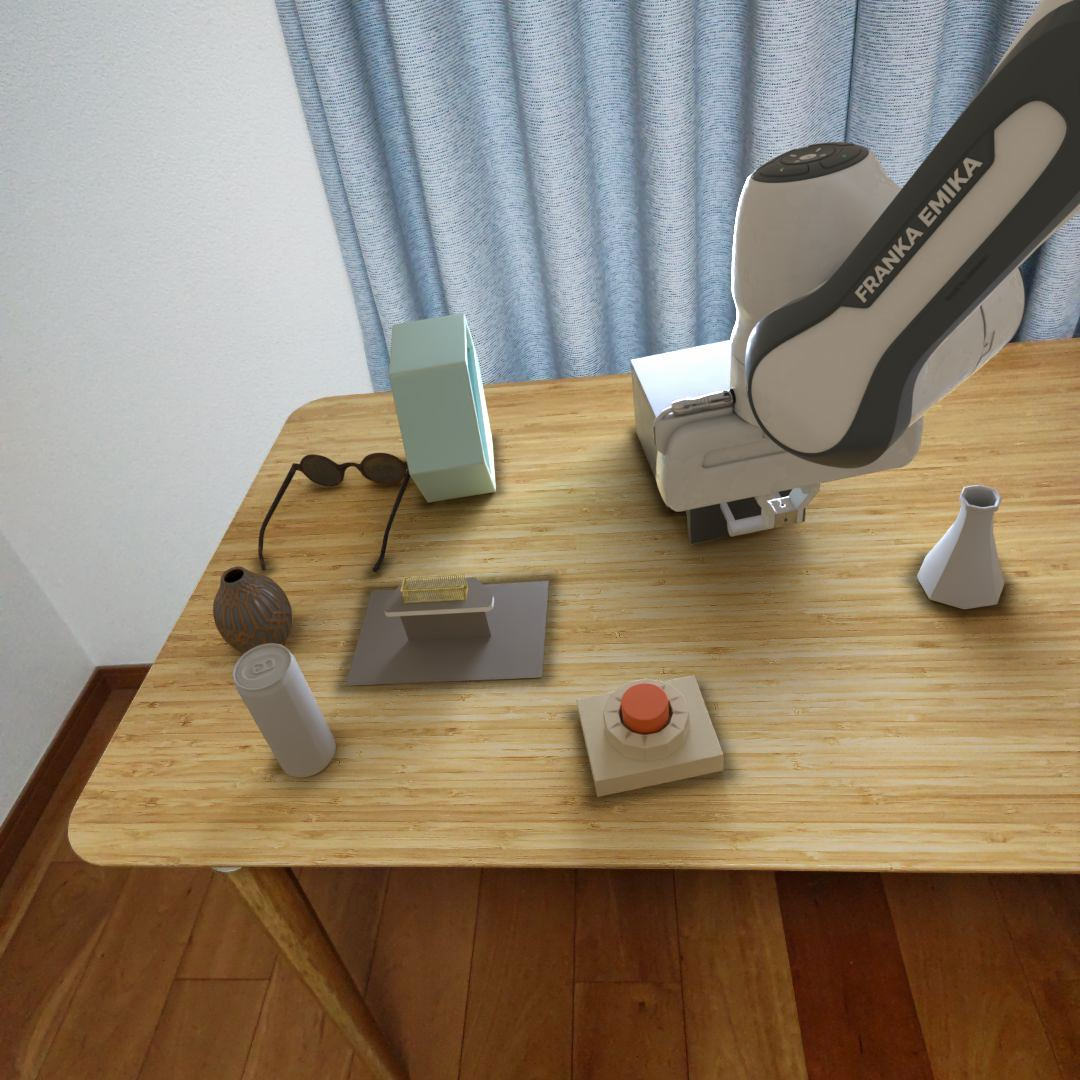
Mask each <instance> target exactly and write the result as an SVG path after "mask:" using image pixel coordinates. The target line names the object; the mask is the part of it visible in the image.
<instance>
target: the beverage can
mask: <svg viewBox="0 0 1080 1080" xmlns="http://www.w3.org/2000/svg"><path fill="white" fill-rule="evenodd" d="M232 680H233V684H234V687H235V690H236V692H237V693H238V695H239V697H240V699H241V700H242V702H243V704H244V705H245V708H246V709H247V710H248V712H249V714H250V716H251V718H252V719H253V721H254V723H255V724H256V726H257V728H258V730H259V732H260V734H261V735H262V736H263V738H264V740H265V741H266V744H267V745H268V747H269V749H270V751H271V752H272V754H273V755H274V757H275V759H276V761H277V762H278V765H279V766H280V768H281V769H282V770H283V772H285V774H287V775H289V776H291V777H295V778H308V777H312V776H315V775H317V774H320V773H321V772H322V771H323V770H325V769H326V768H327V767H328V766H329V765H330V763H331V762H332V760H333V758H334V756H335V754H336V749H337V742H336V739H335V737H334V735H333V733H332V731H331V729H330V727H329V725H328V723H327V721H326V719H325V717H324V715H323V713H322V711H321V708H320V706H319V704H318V702H317V700H316V698H315V695H314V694H313V692H312V690H311V688H310V686H309V684H308V681H307V680H306V678H305V676H304V674H303V671H302V670H301V668H300V666H299V663H298V661H297V660H296V658H295V655H293V654H292V652H291V651H290V650H289V649H288V648H287V647H286V646H284V645H282V644H281V645H280V644H275V643H269V644H263V645H259V646H256V647H254V648H252V649H250V650H249V651H247V652H246V653H242V655H241V656H240V657H239V658H238V659H237V660H236V662H235V664H234V666H233V669H232Z"/></svg>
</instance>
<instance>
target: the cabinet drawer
mask: <svg viewBox="0 0 1080 1080" xmlns="http://www.w3.org/2000/svg"><path fill="white" fill-rule="evenodd" d="M791 491H792V489H790V490H785V491H780V492H775V497H774V499H780V498H784V497H789V494H790V493H791ZM774 499H773V500H774ZM806 510H807V507H806V508H804V512H803V521H802V523H804V522H805V521H806ZM684 512H685V514H686V518H687V519H686V525H687V538H688V541H689V543H690V545H697V544H701V543H706V542H710V541H711V542H712V541H716V540H720V539H721V540H722V539H725V538H730V537H736V536H742V535H746V534H751V533H752V534H753V533H755V532H761V531H766V530H768V529H767V528H766V526H765V525H764V523H763V521H762V517H761V507H760V506H759V504H758V503H757V501H756V499H755V498H754V497H750V498H745V499H740V500H735V501H730V502H725V503H720V504H715V505H710V506H705V507H700V508H695V509H690V510H685V511H684Z"/></svg>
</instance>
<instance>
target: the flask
mask: <svg viewBox="0 0 1080 1080" xmlns="http://www.w3.org/2000/svg"><path fill="white" fill-rule="evenodd" d="M1002 500H1003V497H1002V496H1001V494H1000V493H999V491H998V490H997V489H996V488H995V487H992V486H991V487H990V486H986V485H983V484H974V485H968V486H967V485H966V486H963V487H962V490H961V492H960V494H959V497H958V501H959V502H960V505H961V506H960V509H959V513H958V515H957V517H956V519H955V521H954V522H953V523H952V525H951V526H950V527H949V528H948V529H947V531H946V532H945V533H944V535H943V536H942V537H941V538H940V539H939V541H937V542H936V544H935V545H934V546H933V547H932V548H931V550H930V551H929V552H928V553H927V555H925V557H924V560H923V561H922V564H921V566H920V568H919V570H918V573H917V575H916V578H917V580H918V582H919V583H920V585H921V587H922V589H923V590H924V592H925V594H926V596H927V598H928V599H929V600H931V601H934V602H937V603H940V604H944V605H947V606H951V607H954V608H958V609H961V610H970V609H975V608H983V607H989V606H994V605H995V606H996V605H998V603H999V601H1000V597H1001V594H1002V592H1003V589H1004V585H1005V578H1004V573H1003V570H1002V566H1001V561H1000V558H999V555H998V554H999V553H998V550H997V544H996V539H995V535H994V516H995V513H996V512H998V510H999V508H1000V506H1001V503H1002Z"/></svg>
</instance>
